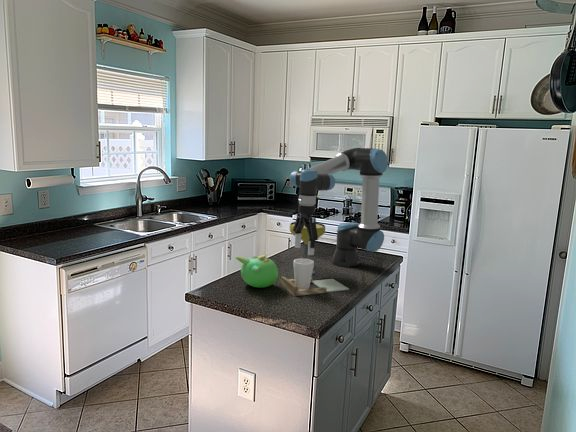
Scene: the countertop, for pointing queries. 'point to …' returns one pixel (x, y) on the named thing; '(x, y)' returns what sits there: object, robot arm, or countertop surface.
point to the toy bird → (258, 271)
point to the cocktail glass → (306, 237)
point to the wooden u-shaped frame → (294, 290)
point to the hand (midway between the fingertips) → (303, 251)
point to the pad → (330, 285)
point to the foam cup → (303, 272)
